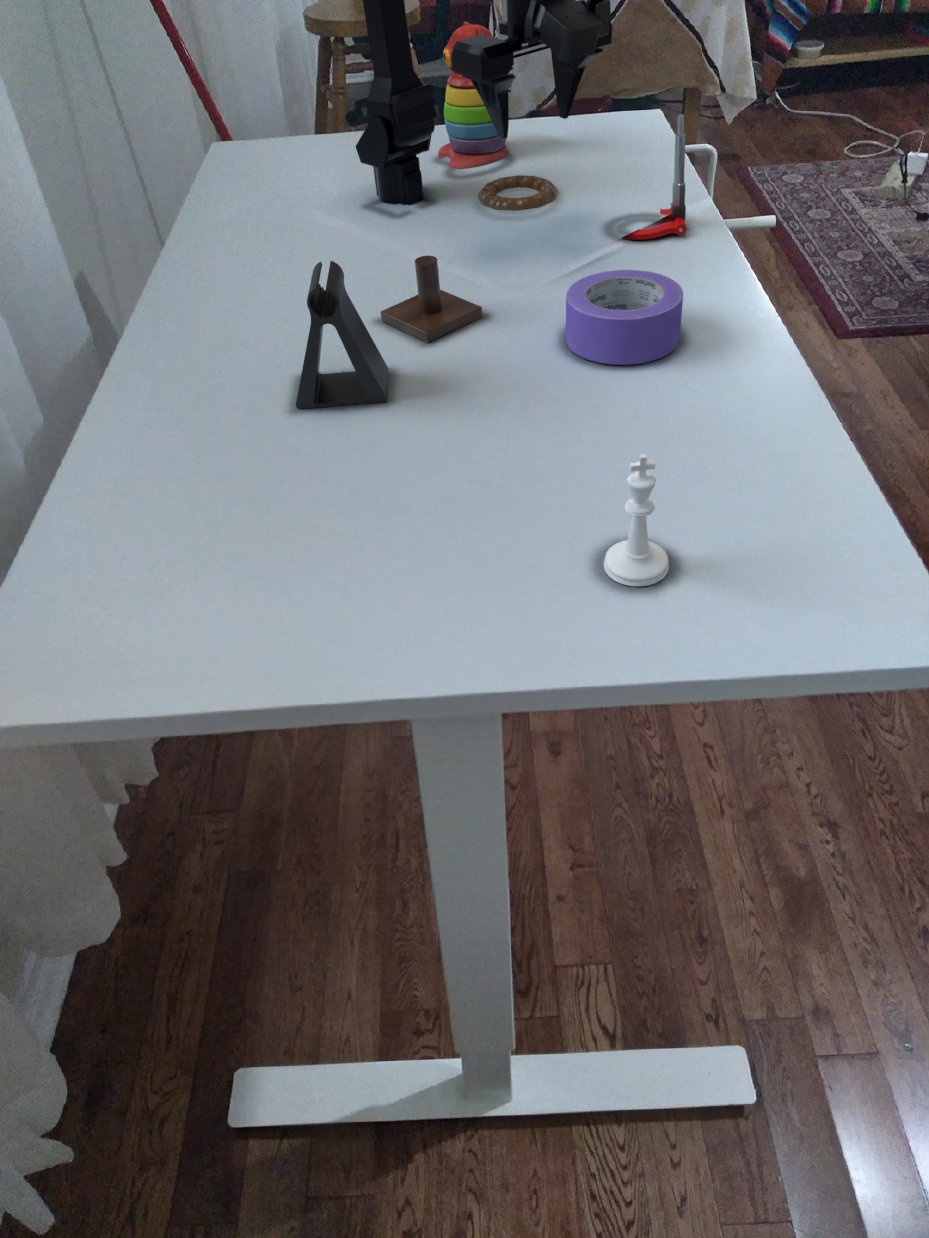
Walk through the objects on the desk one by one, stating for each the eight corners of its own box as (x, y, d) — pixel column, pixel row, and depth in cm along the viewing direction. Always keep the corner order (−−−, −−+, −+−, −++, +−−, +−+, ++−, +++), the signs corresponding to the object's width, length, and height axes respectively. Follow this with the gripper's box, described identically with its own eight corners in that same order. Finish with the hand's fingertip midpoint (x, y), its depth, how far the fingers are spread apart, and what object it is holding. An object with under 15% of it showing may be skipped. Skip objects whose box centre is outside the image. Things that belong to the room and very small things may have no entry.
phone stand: (389, 372, 99) (373, 257, 91) (387, 402, 95) (370, 284, 87) (302, 378, 99) (278, 264, 91) (296, 409, 95) (270, 292, 87)
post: (381, 321, 108) (373, 262, 103) (435, 296, 111) (430, 238, 107) (427, 343, 103) (421, 283, 98) (482, 317, 107) (479, 257, 102)
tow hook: (611, 246, 119) (688, 239, 118) (609, 134, 110) (692, 125, 109) (607, 220, 125) (680, 213, 124) (605, 112, 117) (683, 103, 115)
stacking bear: (435, 156, 147) (424, 21, 135) (499, 146, 148) (494, 12, 136) (452, 179, 139) (441, 38, 127) (519, 168, 141) (515, 28, 129)
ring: (463, 206, 131) (462, 190, 130) (518, 184, 136) (518, 168, 134) (517, 224, 125) (516, 207, 124) (572, 200, 130) (572, 183, 128)
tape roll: (581, 308, 106) (582, 264, 103) (688, 318, 103) (693, 272, 100) (552, 360, 98) (552, 313, 95) (667, 372, 95) (671, 324, 92)
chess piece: (598, 549, 76) (601, 440, 69) (660, 542, 76) (669, 433, 69) (610, 590, 72) (615, 480, 65) (675, 583, 72) (686, 472, 66)
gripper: (514, -6, 91) (517, 166, 102) (653, -41, 99) (642, 123, 110) (443, -21, 98) (453, 142, 109) (578, -53, 106) (575, 103, 116)
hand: (534, 128), depth 111 cm, fingers open, 9 cm apart
